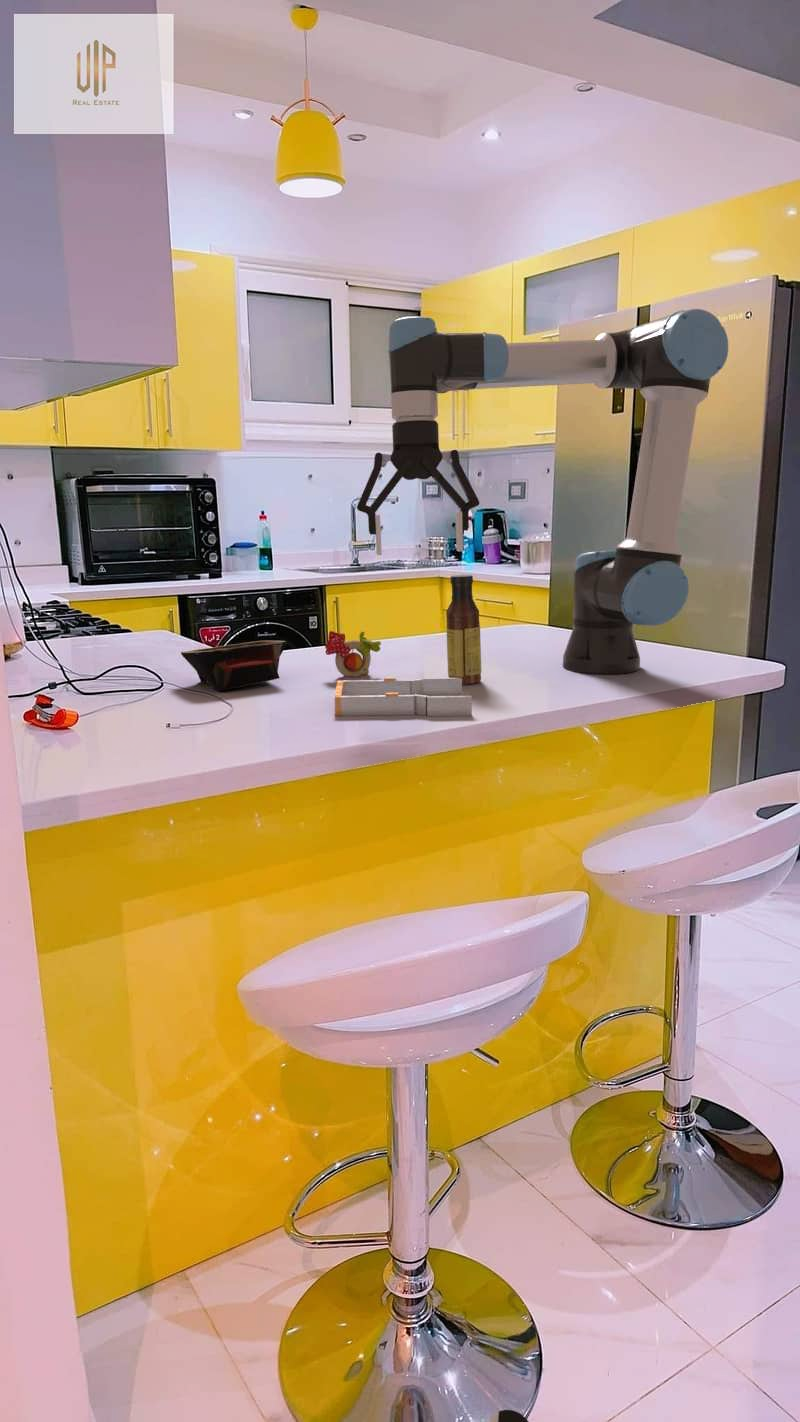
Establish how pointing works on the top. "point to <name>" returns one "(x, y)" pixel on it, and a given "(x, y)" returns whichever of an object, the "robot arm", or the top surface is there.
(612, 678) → the top surface
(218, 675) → the baking dish
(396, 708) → the keyhole rails
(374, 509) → the robot arm
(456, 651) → the sauce bottle
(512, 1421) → the medicine bottle
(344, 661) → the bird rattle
